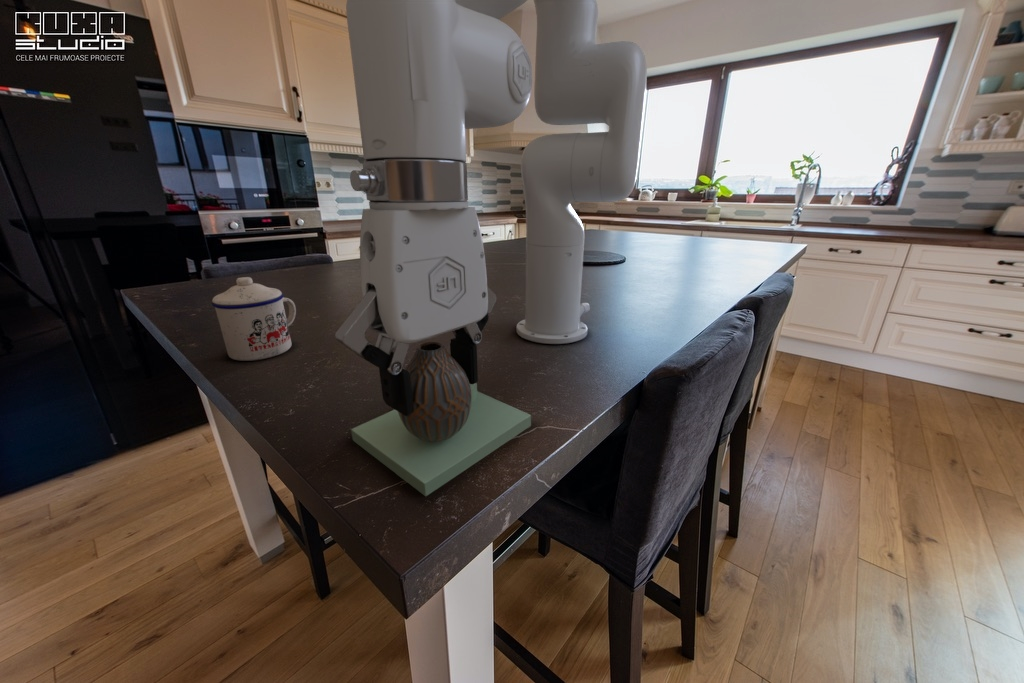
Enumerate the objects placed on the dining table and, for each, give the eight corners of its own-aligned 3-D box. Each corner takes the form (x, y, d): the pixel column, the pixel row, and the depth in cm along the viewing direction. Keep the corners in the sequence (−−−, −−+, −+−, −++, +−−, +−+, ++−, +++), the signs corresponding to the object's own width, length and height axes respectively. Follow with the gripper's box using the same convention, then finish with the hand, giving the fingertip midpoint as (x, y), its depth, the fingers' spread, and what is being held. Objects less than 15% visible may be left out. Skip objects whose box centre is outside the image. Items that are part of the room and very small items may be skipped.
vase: (459, 456, 34) (454, 365, 31) (387, 446, 36) (375, 358, 33) (481, 415, 41) (478, 335, 38) (418, 408, 42) (411, 330, 39)
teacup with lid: (256, 366, 57) (236, 286, 53) (212, 357, 60) (190, 282, 56) (320, 338, 68) (307, 271, 63) (280, 332, 70) (265, 267, 66)
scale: (454, 390, 50) (453, 368, 49) (531, 426, 42) (531, 401, 41) (350, 439, 40) (346, 413, 39) (425, 497, 33) (422, 467, 32)
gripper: (331, 188, 22) (371, 453, 28) (527, 189, 34) (524, 374, 41) (279, 188, 27) (323, 416, 33) (468, 189, 39) (474, 355, 45)
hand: (434, 392), depth 37 cm, fingers closed on vase, 6 cm apart
